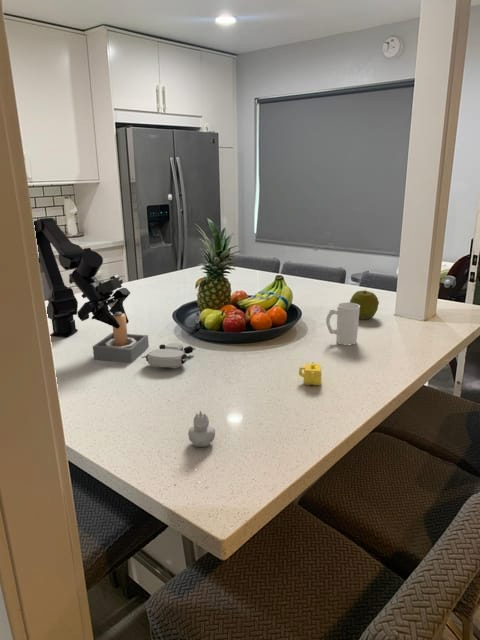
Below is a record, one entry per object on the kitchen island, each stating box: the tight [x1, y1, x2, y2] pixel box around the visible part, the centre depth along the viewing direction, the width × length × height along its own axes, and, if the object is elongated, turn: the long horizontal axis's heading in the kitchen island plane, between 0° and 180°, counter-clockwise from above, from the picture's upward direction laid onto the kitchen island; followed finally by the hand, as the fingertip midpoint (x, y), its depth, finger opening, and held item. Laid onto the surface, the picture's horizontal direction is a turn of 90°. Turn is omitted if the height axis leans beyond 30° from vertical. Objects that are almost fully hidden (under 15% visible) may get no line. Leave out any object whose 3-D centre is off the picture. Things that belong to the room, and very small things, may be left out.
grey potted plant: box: [187, 410, 216, 448], centre depth 98 cm, size 5×7×8 cm
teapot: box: [298, 362, 322, 386], centre depth 125 cm, size 8×6×5 cm
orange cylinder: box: [112, 312, 128, 347], centre depth 143 cm, size 4×4×10 cm
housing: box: [92, 332, 150, 364], centre depth 145 cm, size 12×12×4 cm
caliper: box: [195, 311, 201, 324], centre depth 173 cm, size 20×1×6 cm, turn 173°
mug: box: [325, 302, 360, 346], centre depth 151 cm, size 10×7×12 cm, turn 89°
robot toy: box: [140, 342, 196, 369], centre depth 138 cm, size 12×4×15 cm
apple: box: [349, 290, 380, 320], centre depth 173 cm, size 10×10×11 cm
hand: (123, 325), depth 142 cm, fingers closed on orange cylinder, 4 cm apart
